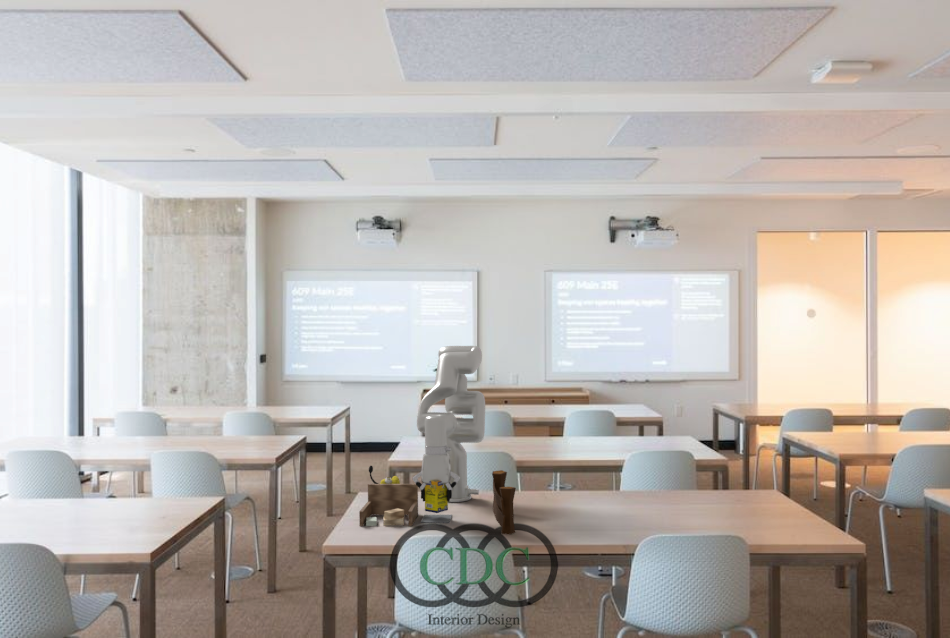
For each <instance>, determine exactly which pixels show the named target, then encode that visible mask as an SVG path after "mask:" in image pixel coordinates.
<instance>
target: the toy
mask: <svg viewBox="0 0 950 638" xmlns="http://www.w3.org/2000/svg"><path fill="white" fill-rule="evenodd" d="M373 471H374V466H373V465H369V466H368V473H369V478H370V479H371V481H372V482H373V483H372V484H401V482H400V481H401V480H400V478H399V477H398V476H397V475H394V476H392V477H391V476H387V477H385V478H383V479H381V480H380V483H379V482H377V481H375V480H374V477H373V476H372V473H373Z"/></svg>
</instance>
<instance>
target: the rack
mask: <svg viewBox="0 0 950 638" xmlns="http://www.w3.org/2000/svg"><path fill="white" fill-rule="evenodd" d="M397 508H399V509H402V510H404V516H408V517H407V519H408V522H407V523H408V525H407V526H408V527H413V525H414V523H415V521H416V519H417V517H418V516H419V487H418V486H417V485H416V483H400V484H380V483H379V484H374V483H369V484H367V502H366V503H365V504H364V505H363V507H362V508H361V509H360V510H359V512H358V513H359V517H358V518H359V527H364V526H365V525H366V517H372V516H384V511H388V510H393V509H397Z"/></svg>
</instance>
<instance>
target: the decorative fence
mask: <svg viewBox="0 0 950 638" xmlns="http://www.w3.org/2000/svg"><path fill="white" fill-rule="evenodd" d="M507 473H508V472H507V471H504V470H494V471H492V473H491V474H492V492H493V500H492V502H493V503H492V511H493V514H494V518H495V520H496V522H497V523H498V525H499V526H500V527H501V529H500V530H501V531H500V533H501V534H502V535H513V534H515V533H516V529H515V522H514V519H515V517H514V500H515V495H516V491H517V490H516V487H515V486H506V480H507V479H506V478H507Z"/></svg>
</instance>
